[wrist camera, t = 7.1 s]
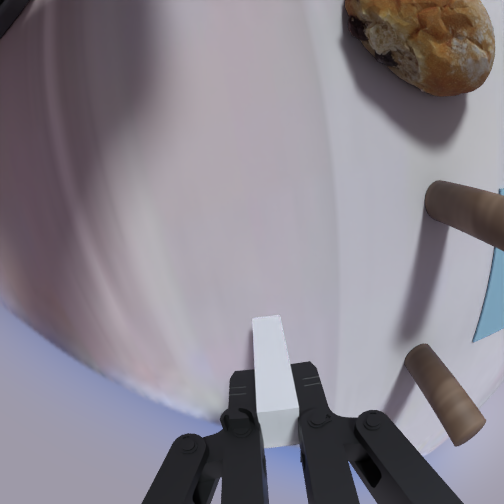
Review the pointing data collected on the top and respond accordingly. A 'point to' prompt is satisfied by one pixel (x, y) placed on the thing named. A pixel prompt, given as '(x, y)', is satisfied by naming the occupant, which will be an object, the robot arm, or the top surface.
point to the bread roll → (427, 41)
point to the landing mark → (493, 298)
